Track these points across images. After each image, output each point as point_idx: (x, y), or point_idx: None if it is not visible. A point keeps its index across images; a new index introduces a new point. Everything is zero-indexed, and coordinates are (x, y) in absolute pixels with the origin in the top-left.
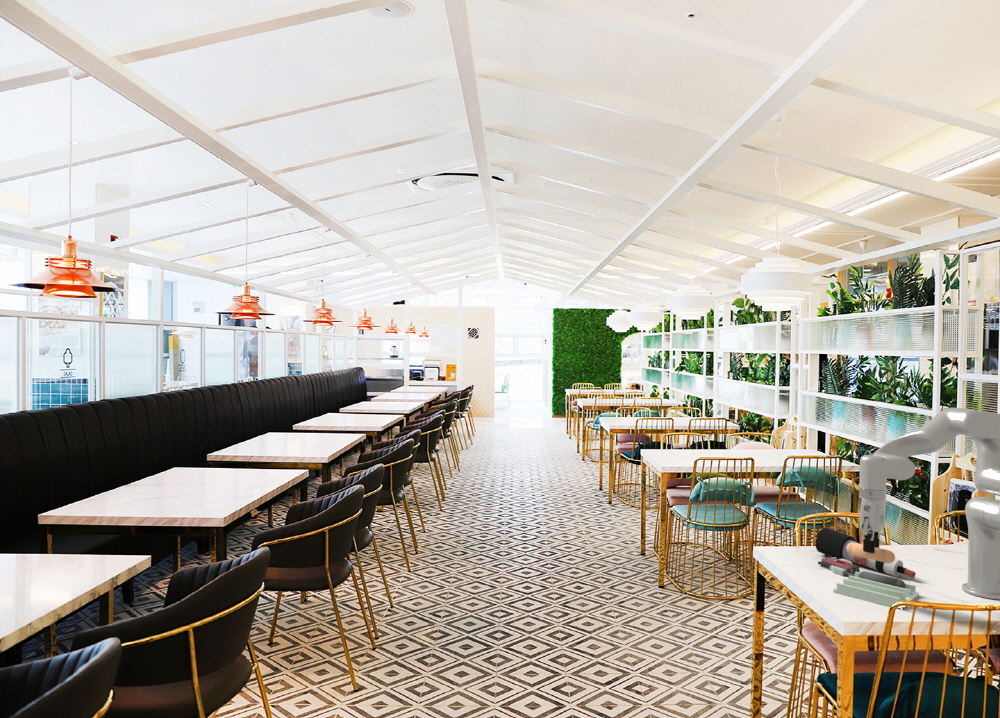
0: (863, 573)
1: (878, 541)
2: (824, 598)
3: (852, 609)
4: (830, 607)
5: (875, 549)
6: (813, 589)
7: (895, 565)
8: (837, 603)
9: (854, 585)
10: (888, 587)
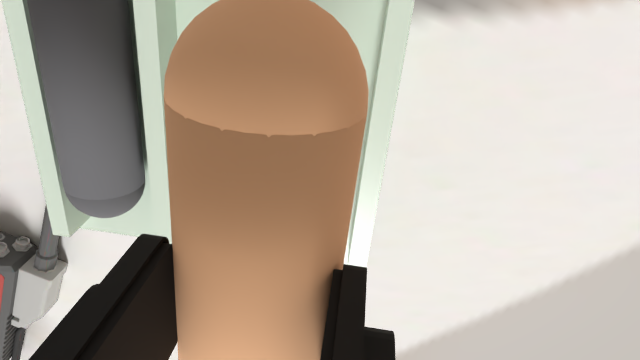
0: (113, 200)
1: (88, 336)
2: (494, 276)
3: (604, 145)
4: (632, 236)
5: (297, 283)
6: (384, 327)
7: None
8: (539, 220)
9: None
10: (162, 31)
